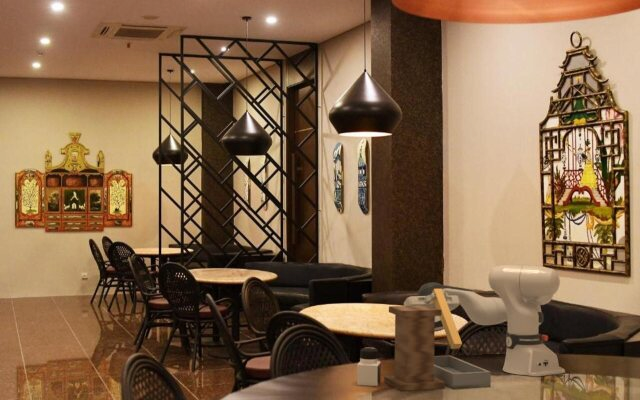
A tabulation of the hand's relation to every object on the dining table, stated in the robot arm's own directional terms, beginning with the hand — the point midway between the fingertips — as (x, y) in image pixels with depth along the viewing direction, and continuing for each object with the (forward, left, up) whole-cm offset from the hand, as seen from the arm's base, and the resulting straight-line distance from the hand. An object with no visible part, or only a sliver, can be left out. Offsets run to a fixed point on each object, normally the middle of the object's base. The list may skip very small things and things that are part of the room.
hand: (440, 294), depth 292 cm
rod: (0, +4, -9) cm, 10 cm away
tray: (0, +9, -28) cm, 30 cm away
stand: (+17, +15, -28) cm, 36 cm away
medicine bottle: (+31, +9, -29) cm, 43 cm away
